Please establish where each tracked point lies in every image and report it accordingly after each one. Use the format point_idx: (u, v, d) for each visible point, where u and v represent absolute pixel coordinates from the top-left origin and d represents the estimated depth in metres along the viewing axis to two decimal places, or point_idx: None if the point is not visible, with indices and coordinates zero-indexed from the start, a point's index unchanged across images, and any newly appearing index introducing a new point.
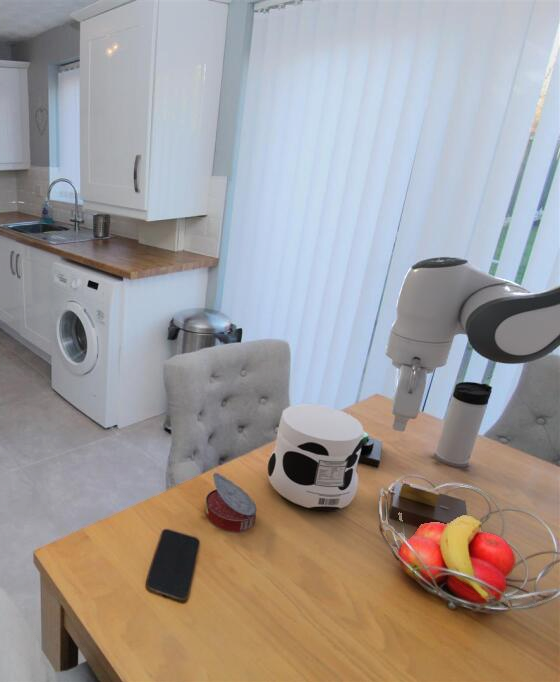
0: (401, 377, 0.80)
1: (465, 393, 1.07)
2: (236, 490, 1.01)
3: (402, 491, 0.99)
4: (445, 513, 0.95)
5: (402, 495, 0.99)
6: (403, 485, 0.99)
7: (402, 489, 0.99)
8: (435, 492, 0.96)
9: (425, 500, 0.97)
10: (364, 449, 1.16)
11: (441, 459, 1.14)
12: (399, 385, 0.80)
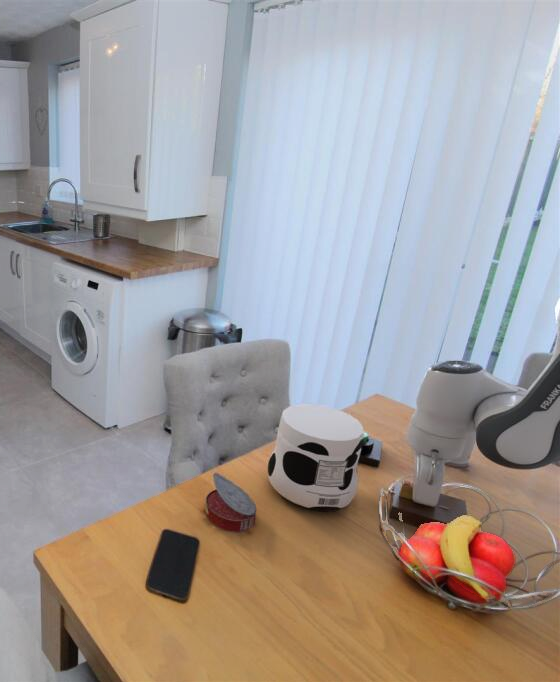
0: (421, 469, 0.89)
1: None
2: (236, 490, 1.01)
3: (402, 491, 0.99)
4: (445, 513, 0.95)
5: (402, 495, 0.99)
6: (403, 485, 0.99)
7: (402, 489, 0.99)
8: None
9: None
10: (364, 449, 1.16)
11: None
12: (420, 476, 0.89)
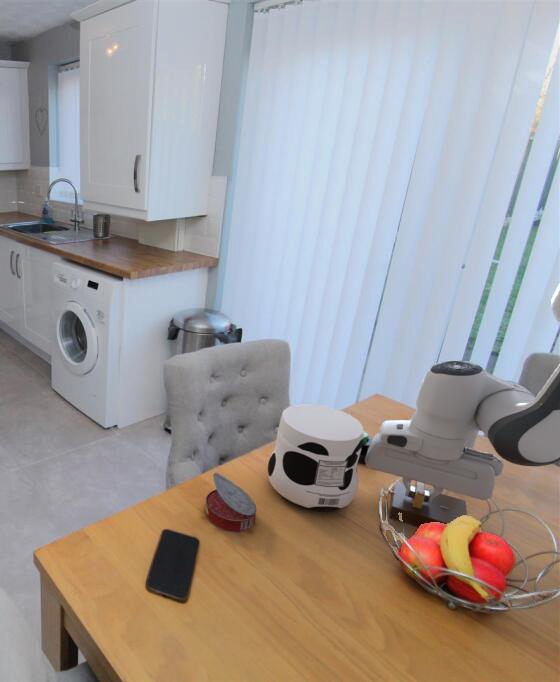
0: (491, 469, 0.88)
1: None
2: (236, 490, 1.01)
3: (422, 502, 0.96)
4: (445, 513, 0.95)
5: (421, 506, 0.96)
6: (424, 497, 0.95)
7: None
8: None
9: None
10: (364, 449, 1.16)
11: None
12: (493, 476, 0.88)
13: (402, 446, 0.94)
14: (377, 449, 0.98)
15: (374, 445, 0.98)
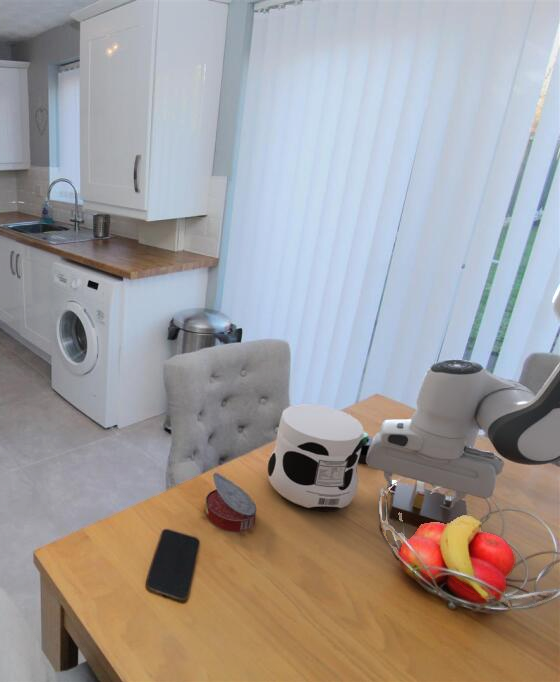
0: (492, 468, 0.88)
1: None
2: (236, 490, 1.01)
3: (422, 502, 0.96)
4: (445, 513, 0.95)
5: (421, 506, 0.96)
6: (424, 497, 0.95)
7: None
8: (421, 481, 0.99)
9: None
10: (364, 449, 1.16)
11: None
12: (494, 474, 0.88)
13: (403, 445, 0.94)
14: (377, 448, 0.98)
15: (375, 444, 0.98)
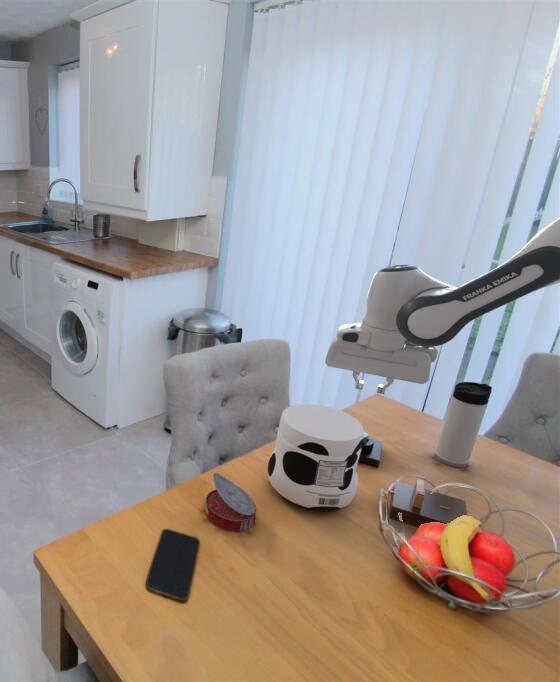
0: (427, 355, 1.03)
1: (465, 393, 1.07)
2: (236, 490, 1.01)
3: (422, 502, 0.96)
4: (445, 513, 0.95)
5: (421, 506, 0.96)
6: (424, 497, 0.95)
7: None
8: (421, 481, 0.99)
9: None
10: (364, 449, 1.16)
11: (441, 459, 1.14)
12: (429, 361, 1.04)
13: (354, 341, 1.09)
14: (334, 347, 1.13)
15: (332, 344, 1.13)
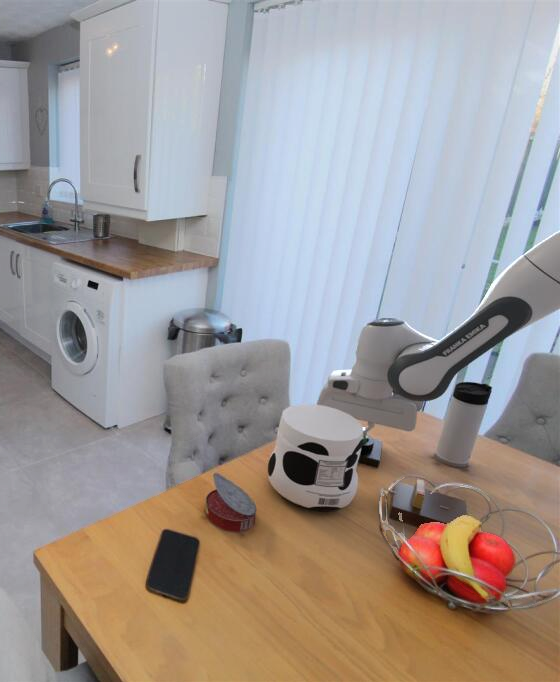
0: (413, 405, 1.08)
1: (465, 393, 1.07)
2: (236, 490, 1.01)
3: (422, 502, 0.96)
4: (445, 513, 0.95)
5: (421, 506, 0.96)
6: (424, 497, 0.95)
7: None
8: (421, 481, 0.99)
9: None
10: (364, 449, 1.16)
11: (441, 459, 1.14)
12: (415, 410, 1.08)
13: (344, 389, 1.14)
14: (325, 393, 1.18)
15: (323, 390, 1.18)
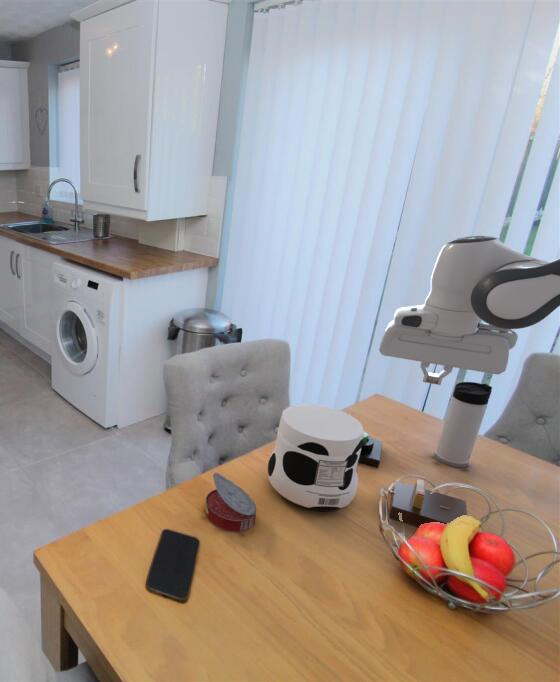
0: (505, 341, 0.89)
1: (465, 393, 1.07)
2: (236, 490, 1.01)
3: (422, 502, 0.96)
4: (445, 513, 0.95)
5: (421, 506, 0.96)
6: (424, 497, 0.95)
7: None
8: (421, 481, 0.99)
9: None
10: (364, 449, 1.16)
11: (441, 459, 1.14)
12: (508, 348, 0.89)
13: (417, 326, 0.95)
14: (391, 333, 0.99)
15: (388, 330, 0.99)
